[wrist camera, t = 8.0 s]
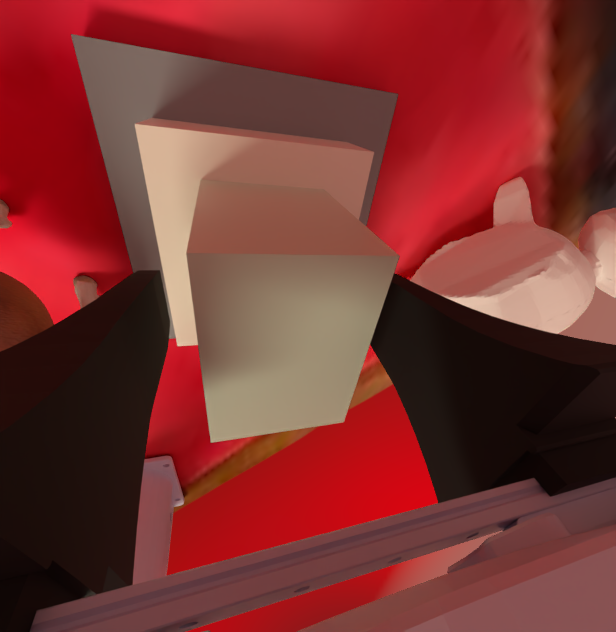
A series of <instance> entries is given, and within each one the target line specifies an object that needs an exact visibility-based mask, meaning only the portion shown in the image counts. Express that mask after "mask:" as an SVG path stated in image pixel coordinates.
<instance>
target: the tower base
mask: <svg viewBox="0 0 616 632" xmlns="http://www.w3.org/2000/svg"><path fill="white" fill-rule="evenodd" d="M71 37H72V41H73V44H74V48H75V52H76V56H77V60H78V64H79V67H80V71H81V75H82V79H83V83H84V87H85V90H86V94H87V98H88V102H89V106H90V109H91V113H92V117H93V121H94V125H95V129H96V132H97V136H98V140H99V144H100V148H101V151H102V155H103V159H104V163H105V167H106V171H107V174H108V178H109V182H110V186H111V190H112V194H113V197H114V201H115V205H116V209H117V213H118V216H119V220H120V224H121V228H122V232H123V236H124V239H125V243H126V247H127V251H128V255H129V259H130V262H131V266H132V270H133V273H134V272H136V271H138V270H160V273H161V278H162V283H163V288H164V293H165V298H166V303H167V308H168V313H169V318H170V332H169V339H171V338H176V341H177V346H190V345H198V340H197V333H196V325H195V317H194V309H193V302H192V294H191V286H190V278H189V271H188V263H187V255H186V251H187V246H188V241H189V236H190V231H191V226H192V221H193V216H194V211H195V205H196V200H197V195H198V190H199V185H200V180H201V179H202V180H214V181H227V182H239V183H252V184H264V185H277V186H289V187H302V188H314V189H324V190H325V191H326V192H328V193H329V194H330V195H331V196H332V197H333V198H334V199H336V200H337V201H338V202H339V203H340V204H341V205H342V206H343V207H345V208H346V209H347V210H348V211H349V212H350V213H351V214H353V215H354V216H355V217H356V218H357V219H358V220H359V221H361V222H362V223H363V224H364V225H365V226H366V225H367V221H368V217H369V213H370V208H371V204H372V200H373V196H374V192H375V188H376V184H377V180H378V176H379V172H380V167H381V163H382V159H383V155H384V151H385V147H386V143H387V139H388V135H389V130H390V126H391V122H392V118H393V114H394V110H395V106H396V102H397V98H398V94H396V93H391V92H385V91H380V90H374V89H369V88H363V87H358V86H352V85H347V84H341V83H336V82H330V81H325V80H319V79H314V78H308V77H303V76H298V75H292V74H287V73H281V72H276V71H270V70H265V69H259V68H254V67H248V66H243V65H237V64H232V63H226V62H221V61H215V60H210V59H204V58H199V57H194V56H188V55H183V54H177V53H172V52H166V51H161V50H155V49H150V48H144V47H139V46H133V45H128V44H122V43H117V42H111V41H106V40H100V39H95V38H90V37H84V36H79V35H73V34H71Z"/></svg>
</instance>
